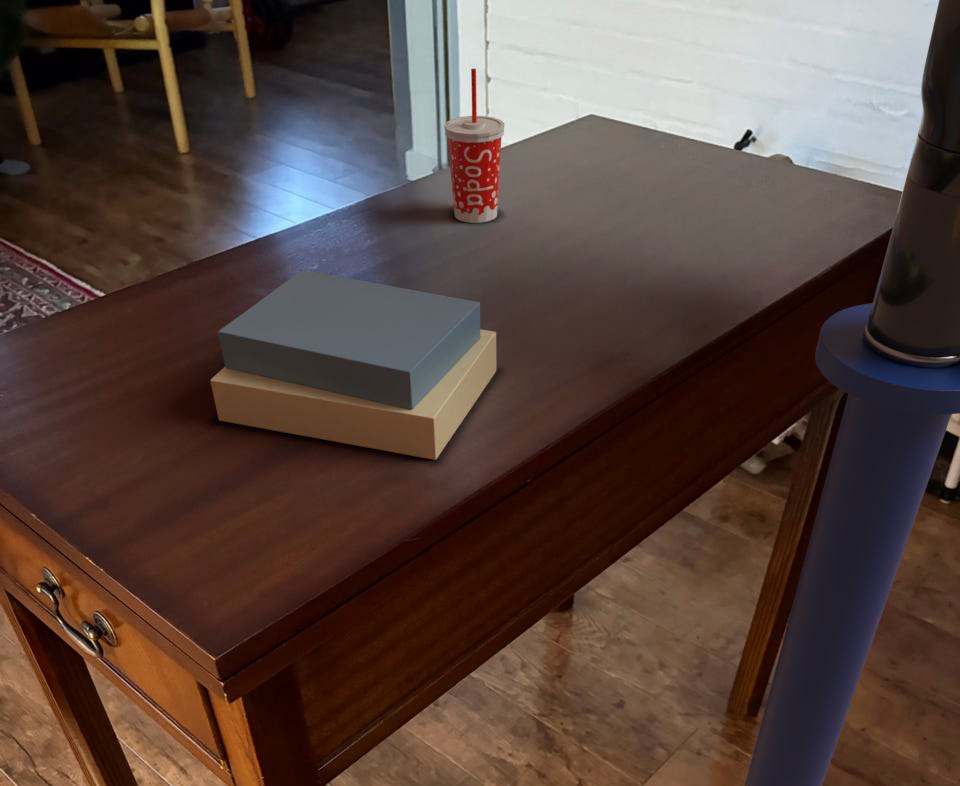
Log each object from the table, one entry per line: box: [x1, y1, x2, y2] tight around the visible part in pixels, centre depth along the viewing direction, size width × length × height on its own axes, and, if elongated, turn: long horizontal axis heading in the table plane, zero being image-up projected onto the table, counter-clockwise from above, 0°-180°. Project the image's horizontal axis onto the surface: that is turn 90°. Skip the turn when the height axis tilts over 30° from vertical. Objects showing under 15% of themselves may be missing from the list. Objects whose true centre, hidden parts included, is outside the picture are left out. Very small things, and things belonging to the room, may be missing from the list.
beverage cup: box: [443, 68, 505, 224], centre depth 103 cm, size 6×6×14 cm
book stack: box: [209, 269, 497, 461], centre depth 78 cm, size 18×14×6 cm
